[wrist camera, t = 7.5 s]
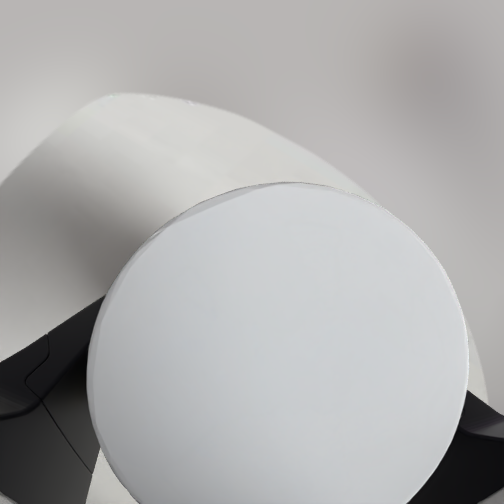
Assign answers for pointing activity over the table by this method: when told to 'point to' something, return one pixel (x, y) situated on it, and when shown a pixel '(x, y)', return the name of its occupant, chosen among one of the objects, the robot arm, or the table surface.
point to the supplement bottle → (278, 354)
